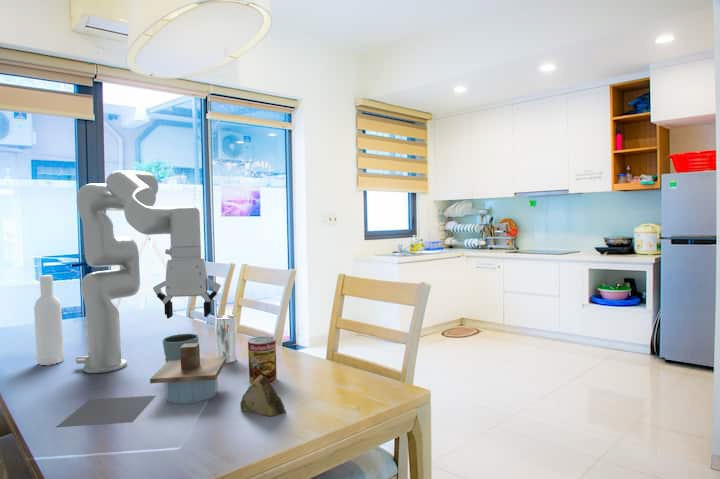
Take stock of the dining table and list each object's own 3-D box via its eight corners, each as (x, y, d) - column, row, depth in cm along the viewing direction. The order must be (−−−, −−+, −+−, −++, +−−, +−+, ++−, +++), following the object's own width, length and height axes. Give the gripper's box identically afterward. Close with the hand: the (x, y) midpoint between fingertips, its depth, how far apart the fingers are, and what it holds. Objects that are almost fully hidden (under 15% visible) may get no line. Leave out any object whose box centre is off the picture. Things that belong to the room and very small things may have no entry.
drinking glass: (206, 372, 148) (205, 334, 148) (184, 383, 139) (183, 342, 138) (179, 370, 152) (178, 332, 151) (156, 380, 142) (155, 340, 142)
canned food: (253, 386, 134) (251, 344, 134) (246, 378, 141) (244, 338, 141) (280, 381, 138) (278, 340, 138) (272, 374, 145) (270, 335, 145)
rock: (227, 402, 117) (244, 409, 109) (244, 370, 121) (262, 374, 113) (261, 420, 122) (280, 427, 114) (277, 388, 126) (296, 393, 118)
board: (55, 428, 110) (55, 427, 110) (89, 400, 127) (89, 399, 127) (132, 423, 112) (132, 421, 112) (156, 396, 129) (156, 395, 129)
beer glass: (232, 364, 156) (230, 319, 155) (212, 363, 158) (210, 318, 157) (241, 358, 163) (239, 314, 162) (222, 357, 164) (221, 314, 164)
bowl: (159, 406, 122) (158, 381, 122) (174, 388, 135) (173, 365, 135) (211, 402, 123) (210, 378, 123) (221, 385, 136) (220, 363, 136)
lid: (150, 383, 120) (148, 355, 120) (168, 364, 136) (167, 339, 136) (215, 379, 122) (214, 351, 121) (226, 361, 137) (225, 336, 137)
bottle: (67, 361, 164) (62, 275, 163) (40, 367, 158) (35, 277, 157) (60, 357, 170) (55, 273, 168) (34, 363, 164) (29, 276, 163)
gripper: (147, 255, 123) (150, 321, 124) (216, 253, 125) (218, 318, 125) (157, 252, 130) (159, 315, 131) (221, 251, 132) (223, 312, 133)
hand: (188, 316), depth 128 cm, fingers open, 9 cm apart
